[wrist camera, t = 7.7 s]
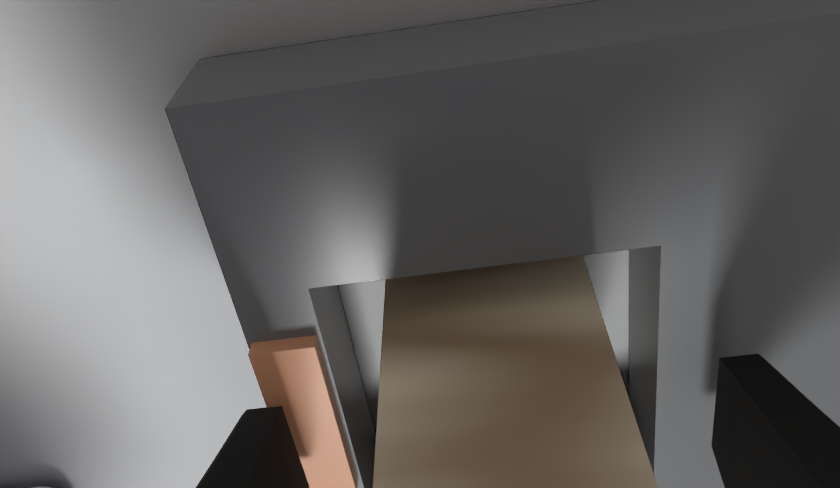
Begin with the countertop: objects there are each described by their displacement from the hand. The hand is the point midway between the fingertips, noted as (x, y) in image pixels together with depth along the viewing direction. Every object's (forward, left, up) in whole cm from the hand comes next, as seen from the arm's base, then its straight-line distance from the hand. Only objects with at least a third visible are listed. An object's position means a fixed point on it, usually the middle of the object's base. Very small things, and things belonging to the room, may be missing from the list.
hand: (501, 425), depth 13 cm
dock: (+2, -4, -3) cm, 5 cm away
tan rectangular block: (0, 0, -3) cm, 3 cm away
